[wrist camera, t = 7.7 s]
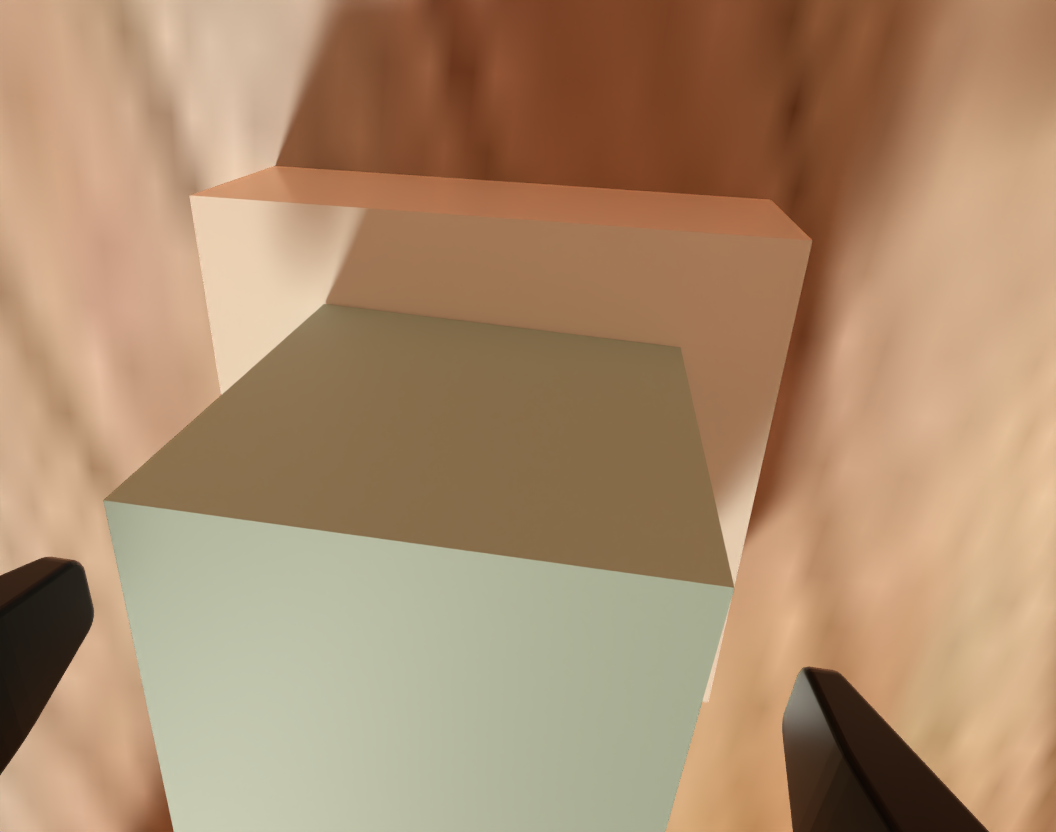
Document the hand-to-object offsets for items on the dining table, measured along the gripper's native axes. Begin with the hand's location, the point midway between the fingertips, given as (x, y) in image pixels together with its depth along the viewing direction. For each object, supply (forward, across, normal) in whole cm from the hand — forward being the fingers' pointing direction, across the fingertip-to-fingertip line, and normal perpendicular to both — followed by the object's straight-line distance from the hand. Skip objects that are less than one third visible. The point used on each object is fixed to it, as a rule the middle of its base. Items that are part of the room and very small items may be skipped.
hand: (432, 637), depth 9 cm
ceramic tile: (+7, 0, 0) cm, 7 cm away
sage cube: (+4, 0, 0) cm, 4 cm away
